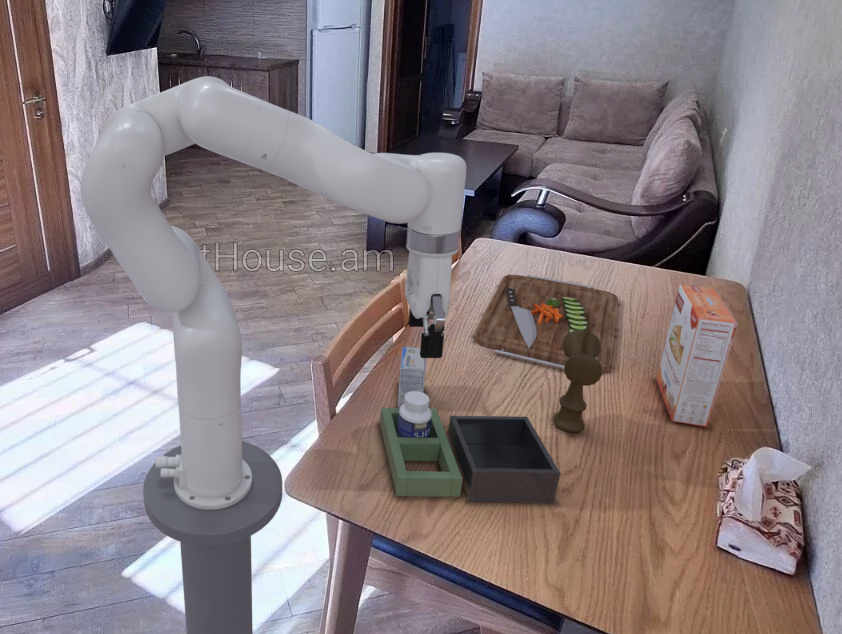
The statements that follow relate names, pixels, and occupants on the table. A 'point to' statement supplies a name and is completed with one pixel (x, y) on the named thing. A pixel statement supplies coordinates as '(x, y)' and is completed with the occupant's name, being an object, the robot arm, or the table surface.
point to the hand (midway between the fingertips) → (424, 340)
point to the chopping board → (546, 319)
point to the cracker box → (695, 354)
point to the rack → (420, 459)
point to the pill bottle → (414, 416)
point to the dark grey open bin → (502, 460)
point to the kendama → (578, 377)
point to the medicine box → (411, 373)
